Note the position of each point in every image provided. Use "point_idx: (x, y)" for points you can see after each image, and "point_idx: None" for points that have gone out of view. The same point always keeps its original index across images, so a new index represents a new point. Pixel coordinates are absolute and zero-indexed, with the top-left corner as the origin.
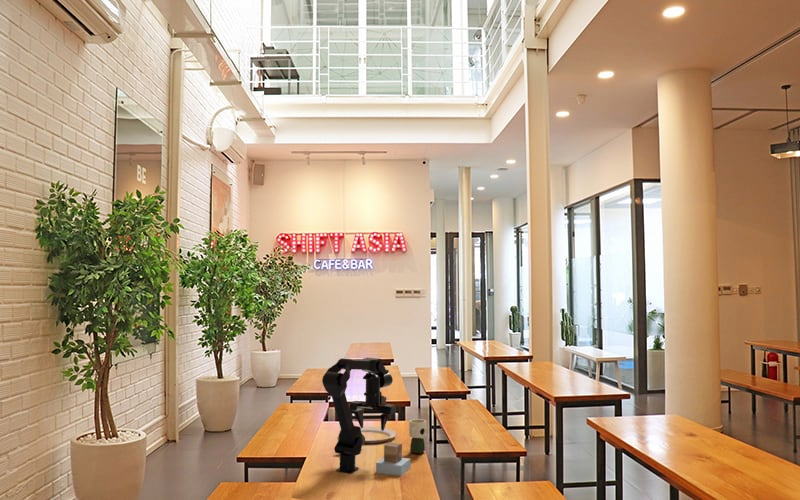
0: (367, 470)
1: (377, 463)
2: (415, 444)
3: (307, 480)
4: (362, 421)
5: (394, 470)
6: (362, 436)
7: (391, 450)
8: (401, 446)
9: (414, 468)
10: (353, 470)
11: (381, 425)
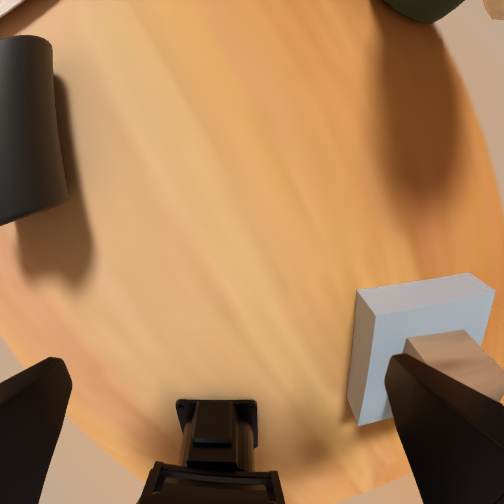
0: (300, 394)
1: (363, 422)
2: (444, 2)
3: None
4: (22, 425)
5: None
6: (17, 60)
7: None
8: (500, 375)
9: (481, 266)
10: (255, 434)
11: (413, 456)
